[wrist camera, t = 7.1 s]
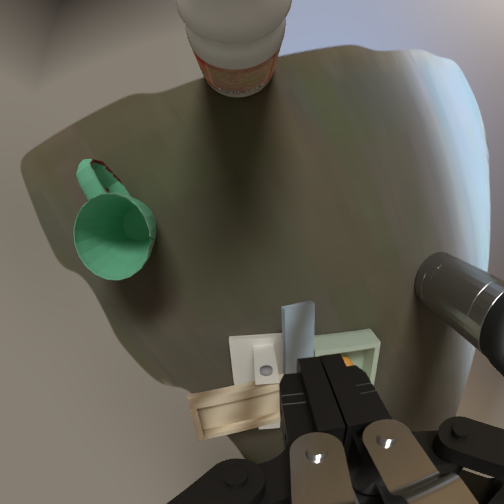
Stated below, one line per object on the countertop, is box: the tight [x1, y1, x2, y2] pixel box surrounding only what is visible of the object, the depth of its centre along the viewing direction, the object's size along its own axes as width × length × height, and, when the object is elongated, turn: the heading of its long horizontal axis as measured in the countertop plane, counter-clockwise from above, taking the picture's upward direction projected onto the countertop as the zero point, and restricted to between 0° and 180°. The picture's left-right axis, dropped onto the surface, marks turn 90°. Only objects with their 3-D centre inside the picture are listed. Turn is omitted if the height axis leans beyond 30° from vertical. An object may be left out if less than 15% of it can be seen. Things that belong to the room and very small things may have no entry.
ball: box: [341, 355, 353, 366], centre depth 44 cm, size 4×4×4 cm
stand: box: [229, 333, 283, 429], centre depth 42 cm, size 10×12×10 cm
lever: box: [187, 300, 315, 441], centre depth 36 cm, size 17×17×3 cm
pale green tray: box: [314, 329, 380, 386], centre depth 44 cm, size 10×10×4 cm
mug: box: [73, 159, 156, 281], centre depth 35 cm, size 15×10×10 cm
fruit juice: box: [175, 0, 292, 98], centre depth 22 cm, size 9×9×28 cm
